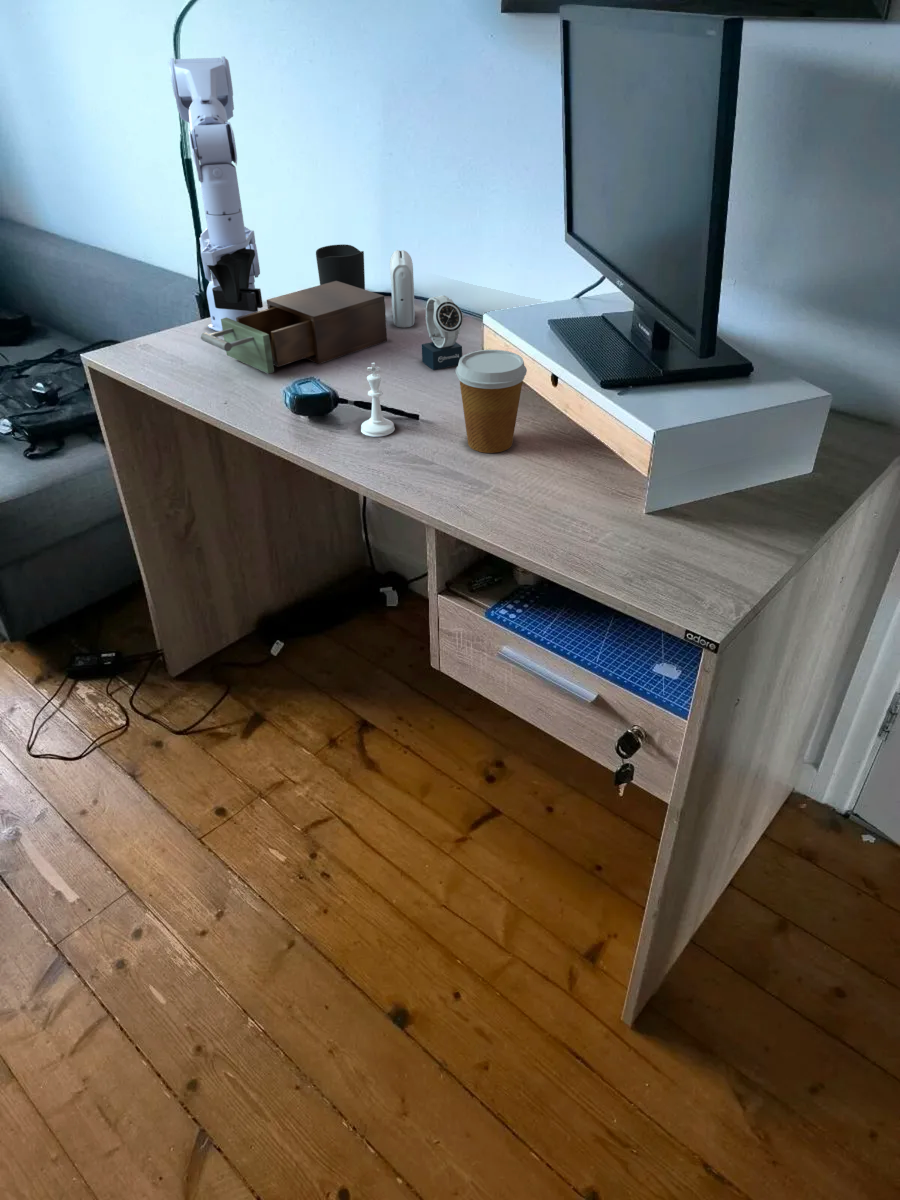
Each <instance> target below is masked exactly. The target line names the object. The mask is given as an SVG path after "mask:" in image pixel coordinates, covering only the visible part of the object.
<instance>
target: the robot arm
mask: <svg viewBox="0 0 900 1200" xmlns="http://www.w3.org/2000/svg"><path fill="white" fill-rule="evenodd" d="M168 70H169V75H170V81H171V87H172V90H173V91H172V93H173V98H174V100H175V104H176V109H177V113H179V116H180V119H181V120H182V121H184V122H187V123H188V124H189V125H190V129H188V137H189V145H190V150H191V155H192V161H193V164H194V167H195V170H196V174H197V178H198V179H197V180H198V182H200V184H199V186H200V192H201V197H202V204H203V210H204V215H205V221H206V228H205V229H204V230H203V231H202V232H201V233H200V237H199V244H200V249H199V250H200V257H201V262H202V267H203V272H204V277H205V279H206V280H207V281H208V282H209V283H208V285H207V287H206V299H207V304H208V310H209V315H210V321H211V323H210V324H208V325H207V327H208V329H211V330H213V331H215V332H218V331H222V330H223V329H222V324H221V319H223V318H229V319H232V320H234V321H236V318H237V317H240V316H244V315H247V314H251V313H255V312H252V311H243V310H230V309H218V308H216V307H215V303H214V297H213V291H212V288H214V287H218V286H220V287H221V289H222V291H223V294H224V296H225V299H226V301H227V302H232V303H238V302H240V288H252V289H254V288H256V285H255V282H256V280H255V278H257V279H258V278H259V276H260V275H261V269H260V268H261V267H260V260H259V254H258V249H257V244H256V236H255V231H254V230H253V229H252V230H251V229H250V228H248V227H247V226H245V221H244V215H243V208H242V201H241V195H240V194H241V193H240V189H239V188H240V187H239V182H238V181H239V180H238V174H237V173H238V172H237V167H236V166H238V153H237V147H236V145H237V144H236V138H235V133H234V129H233V127H232V125H231V122H230V121H229V120H230V119H232V118H233V117H234V110H235V105H234V89H233V81H232V74H231V68H230V62H229V60H228V59H227V58H226V56H224V55H223V56H221V57H199V58H174V57H171V58H170V59H169V61H168ZM234 164H235V165H234ZM258 311H259V308H257V311H256V312H258Z"/></svg>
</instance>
